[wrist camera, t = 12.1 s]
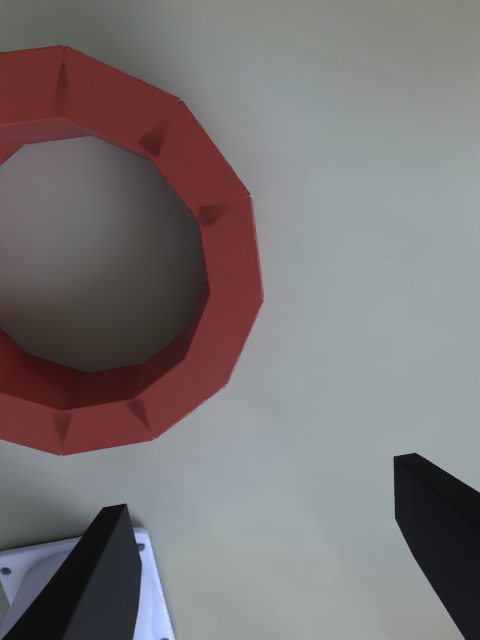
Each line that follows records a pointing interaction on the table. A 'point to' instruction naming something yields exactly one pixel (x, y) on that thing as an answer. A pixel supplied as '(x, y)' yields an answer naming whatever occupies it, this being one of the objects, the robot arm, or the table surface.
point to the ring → (216, 240)
